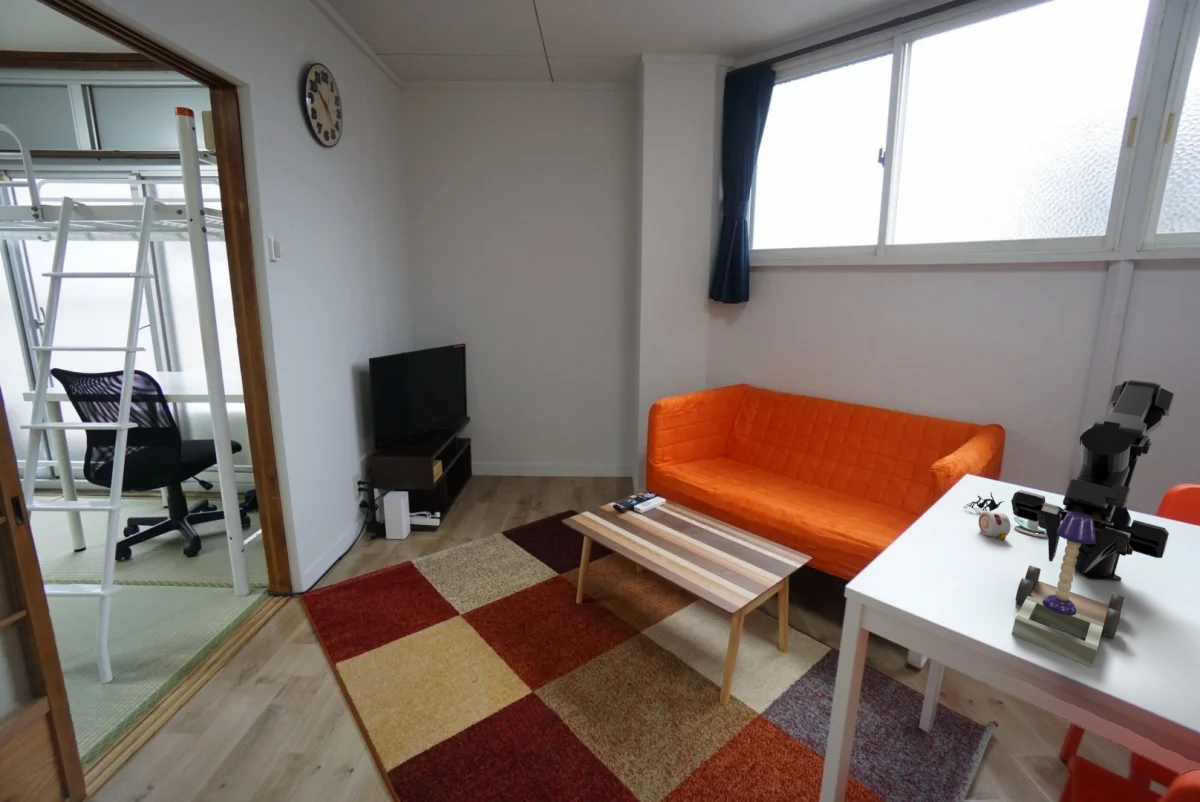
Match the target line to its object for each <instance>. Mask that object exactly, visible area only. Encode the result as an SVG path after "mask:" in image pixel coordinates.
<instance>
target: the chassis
mask: <svg viewBox="0 0 1200 802" xmlns="http://www.w3.org/2000/svg"><path fill="white" fill-rule="evenodd" d="M1040 575H1041V568H1039V567H1037V566H1033V565H1028V568H1027V570H1026V573H1025V577H1023V578H1021V579H1020V582H1019V584H1018V587H1017V591H1016V595H1015V602H1017V603H1020V604H1021V605H1022V606H1021V607H1020V609H1019V611H1018V613H1017V614H1016V616H1015V619H1014V622H1013V627H1012V630H1011V635H1013V636H1016V637H1018V638H1020V639H1023V640H1024V641H1027V642H1030V643H1032V644H1034V645H1037V646H1038V647H1039V646H1040V647H1042V648H1045V649H1047V650H1049V651H1052V652H1054V653H1056V654H1059V655H1061V656H1063V657H1067V658H1068V659H1071V660H1073V661H1076V662H1079V663H1081V664H1083V665H1086V666H1088V667H1089V668H1090V667H1091V668H1093V666H1094V662H1095V658H1096V655H1097V652H1098V647H1099V643H1100V640H1101V637H1102V634H1103V635H1106V636H1108V637H1112V638H1113V639H1114V638H1115V637H1116V634H1117V630H1118V627H1119V623H1120V620H1121V616H1122V609H1123V606H1124V601H1125V595H1121V594H1118V593H1115V592H1113V591H1112V592H1111V595H1110V600H1109V604H1108V603H1105V602H1102V601H1099V600H1095V599H1093V598H1090V597H1087V596H1085V595H1081V594H1078V593H1075V592H1072V591H1071V590H1070V591H1069V593H1070V596H1069V600H1070V601H1071V602H1072V603H1073V604H1074V605H1075V607H1076V614H1075V615H1072V616H1068V615H1062V614H1058V613H1056V612H1053V611H1051V610H1049V609H1048V608H1046V607H1045V606H1044V605H1043V603H1042V602H1043V600H1044V598H1045V597H1047V596H1049V595H1056V590H1057V589H1058V586H1054V585H1052V584H1050V583H1046V582H1043V581H1040V580H1039V579H1040ZM1034 620H1037V621H1039V622H1042V623H1044V624H1048V625H1050V626H1052V627H1056V628H1058V629H1060V631H1059V630H1057V629H1055V628H1052V627H1049V626H1047V625H1044V624H1042V623H1039V622H1036V621H1034ZM1061 630H1063V631H1066V632H1068V633H1071V634H1073V635H1077V636H1078V637H1079V636H1080V637H1081V638H1084V639H1085V640H1083V639H1080V638H1078V637H1075V636H1073V635H1070V634H1067V633H1064V632H1061Z"/></svg>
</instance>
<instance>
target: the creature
mask: <svg viewBox="0 0 1200 802" xmlns="http://www.w3.org/2000/svg"><path fill="white" fill-rule="evenodd" d="M976 495H977V497H978V500H977V501H971V502H970V503H967V504H966V505H967V506H966V505H965V506H964V507H963V508H964V510H966V509H967V508H968V507H969V508H970V507H971V509H973V508H974V506H975V505H976V506H977V507H978V509H980V510H981V509H983V510H982V511H984V510H985V511H995V510H996V509H998V508H999V507H1000V505H1001V504H1002V503H1005V501H1003V500H1002V501H999V502H998V503H996V501H995V498H994V497H993V494H992V492H990V498H984V499H983V498H982V497H981V496H980V495H979V494H976ZM981 501H982V502H981ZM988 502H989V503H988ZM987 508H989V509H988V510H987Z"/></svg>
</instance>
